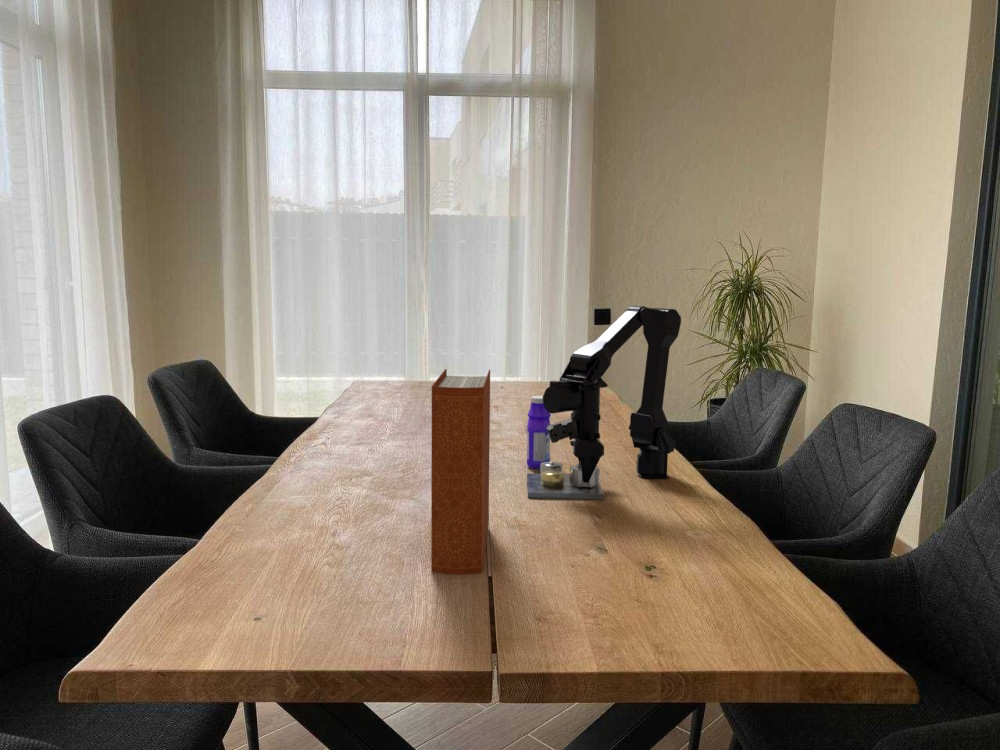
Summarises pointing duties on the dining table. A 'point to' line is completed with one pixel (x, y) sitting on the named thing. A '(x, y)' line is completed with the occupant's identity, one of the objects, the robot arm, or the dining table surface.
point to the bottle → (538, 434)
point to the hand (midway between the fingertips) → (584, 478)
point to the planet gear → (578, 479)
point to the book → (460, 473)
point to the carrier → (558, 485)
